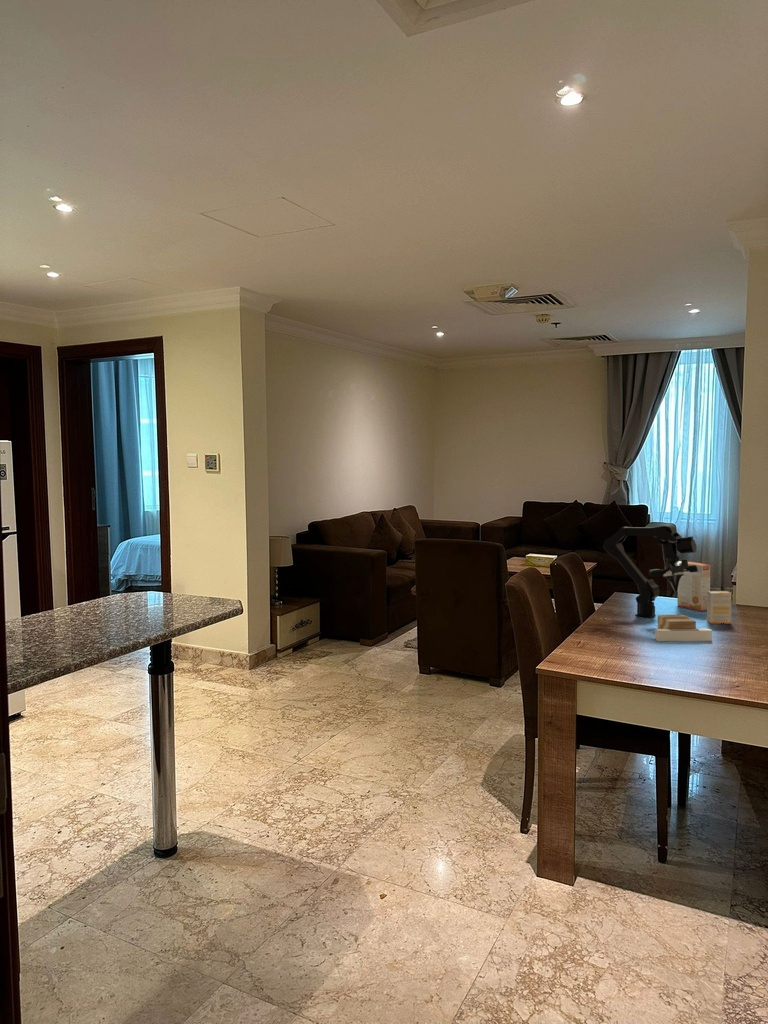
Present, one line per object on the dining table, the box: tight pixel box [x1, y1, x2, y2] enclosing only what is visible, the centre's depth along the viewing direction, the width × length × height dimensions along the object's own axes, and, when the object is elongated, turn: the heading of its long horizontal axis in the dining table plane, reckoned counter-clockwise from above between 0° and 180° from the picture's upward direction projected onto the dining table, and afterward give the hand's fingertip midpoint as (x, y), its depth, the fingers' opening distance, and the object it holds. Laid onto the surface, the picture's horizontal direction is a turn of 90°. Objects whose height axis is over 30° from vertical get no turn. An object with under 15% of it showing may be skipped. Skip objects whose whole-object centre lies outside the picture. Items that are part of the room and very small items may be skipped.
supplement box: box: [706, 590, 732, 625], centre depth 296 cm, size 8×5×13 cm, turn 84°
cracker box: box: [676, 561, 712, 612], centre depth 326 cm, size 14×6×21 cm, turn 22°
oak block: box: [657, 614, 697, 629], centre depth 277 cm, size 12×10×7 cm
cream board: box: [654, 627, 713, 642], centre depth 269 cm, size 3×20×4 cm, turn 88°
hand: (675, 591), depth 303 cm, fingers closed
